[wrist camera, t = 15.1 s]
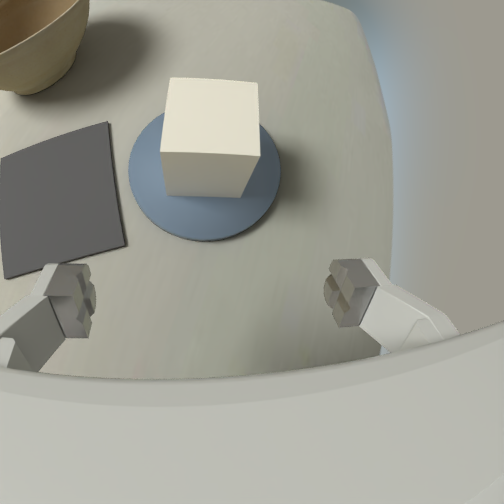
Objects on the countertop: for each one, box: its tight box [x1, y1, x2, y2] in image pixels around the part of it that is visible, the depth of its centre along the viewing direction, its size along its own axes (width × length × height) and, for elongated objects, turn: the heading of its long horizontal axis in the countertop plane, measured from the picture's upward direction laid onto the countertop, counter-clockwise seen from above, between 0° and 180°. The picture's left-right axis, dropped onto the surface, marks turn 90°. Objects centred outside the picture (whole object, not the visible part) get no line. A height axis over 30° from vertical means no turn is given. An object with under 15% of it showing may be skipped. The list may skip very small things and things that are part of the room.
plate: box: [128, 112, 281, 241], centre depth 28 cm, size 14×14×1 cm
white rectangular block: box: [160, 78, 260, 198], centre depth 23 cm, size 6×6×8 cm
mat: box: [0, 121, 125, 279], centre depth 25 cm, size 13×13×1 cm
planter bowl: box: [0, 0, 89, 95], centre depth 21 cm, size 16×16×11 cm
